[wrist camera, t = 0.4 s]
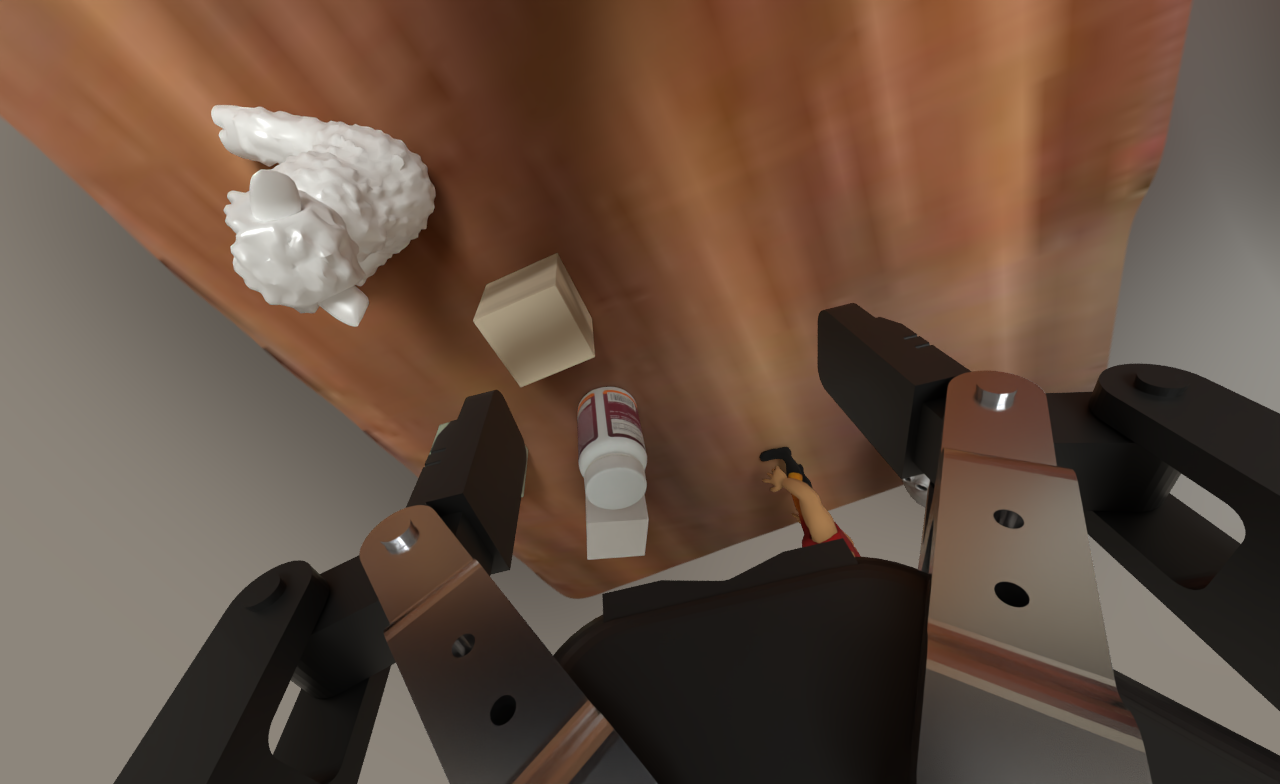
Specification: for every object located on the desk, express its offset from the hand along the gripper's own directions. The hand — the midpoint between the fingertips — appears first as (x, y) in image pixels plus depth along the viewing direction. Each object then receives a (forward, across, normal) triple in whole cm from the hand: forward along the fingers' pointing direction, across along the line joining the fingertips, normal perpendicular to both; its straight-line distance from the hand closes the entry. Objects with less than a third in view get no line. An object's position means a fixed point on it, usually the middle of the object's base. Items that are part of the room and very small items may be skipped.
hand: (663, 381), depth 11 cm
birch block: (+19, +6, +4) cm, 21 cm away
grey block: (+21, +6, +24) cm, 32 cm away
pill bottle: (+20, +4, +14) cm, 25 cm away
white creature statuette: (+19, +13, -5) cm, 23 cm away
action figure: (+21, -10, +25) cm, 34 cm away
